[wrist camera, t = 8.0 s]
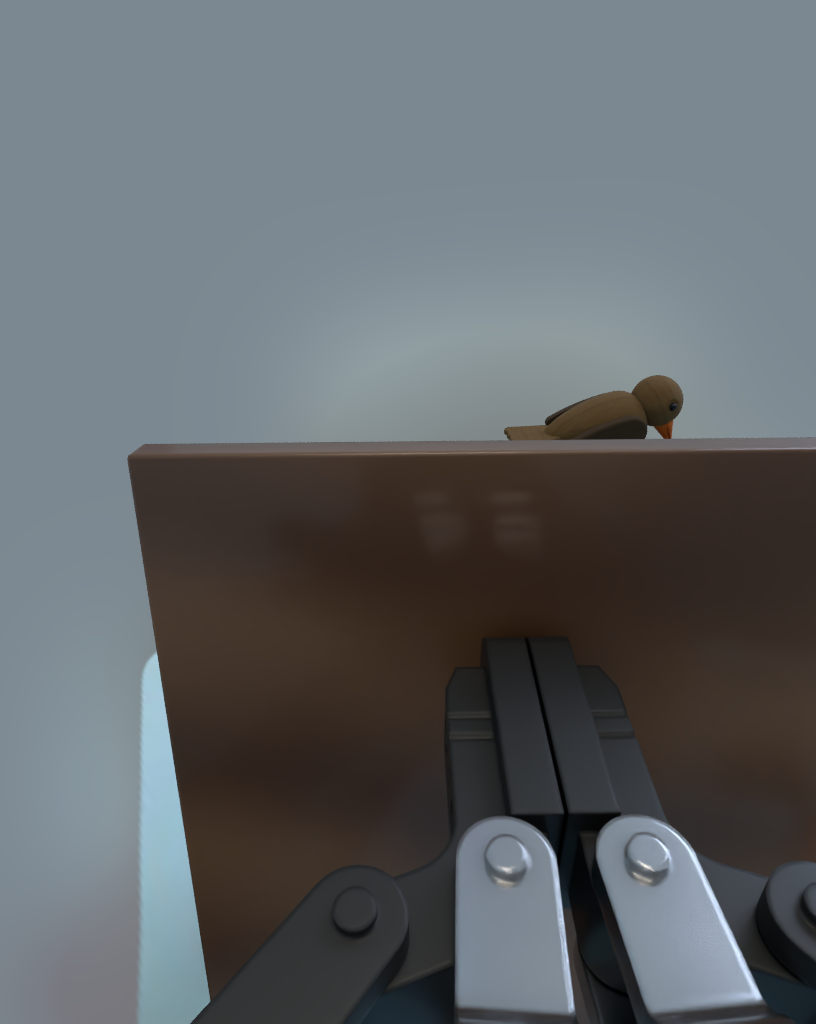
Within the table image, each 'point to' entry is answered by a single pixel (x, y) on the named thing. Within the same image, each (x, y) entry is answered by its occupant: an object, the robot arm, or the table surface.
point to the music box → (612, 415)
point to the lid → (467, 641)
